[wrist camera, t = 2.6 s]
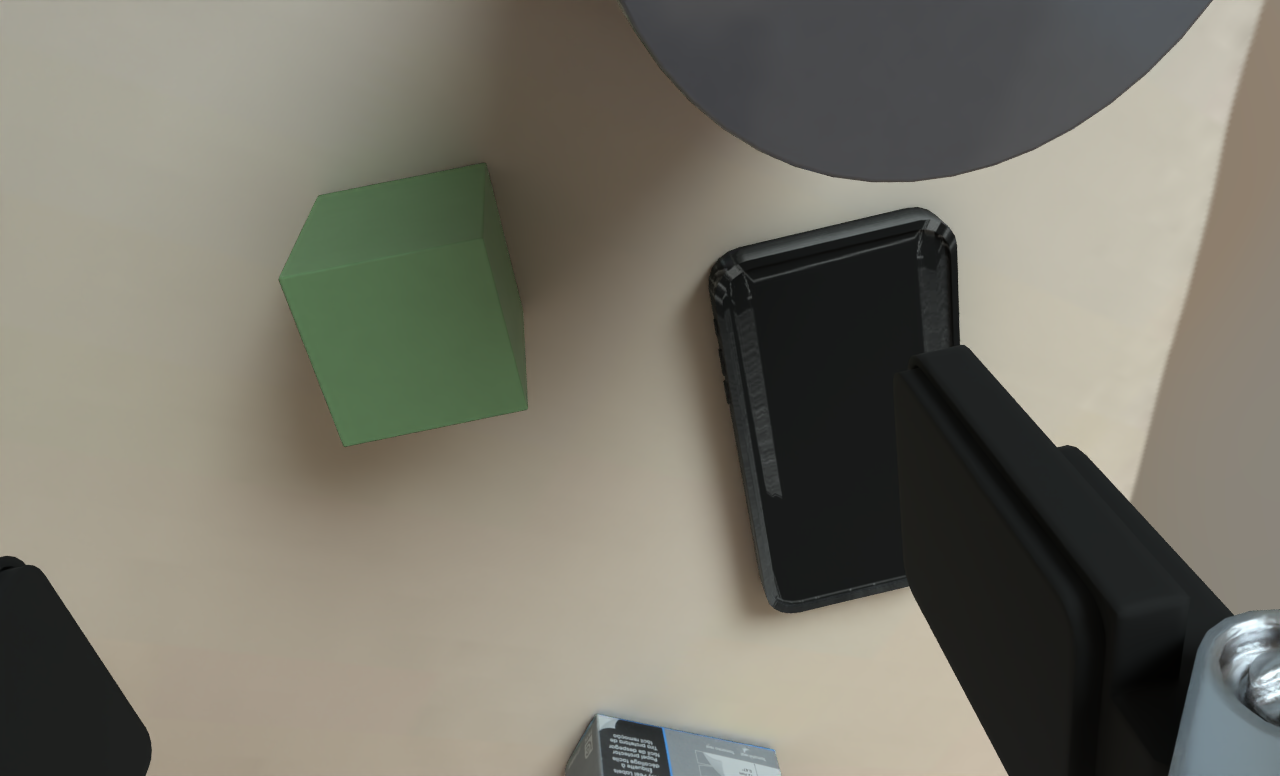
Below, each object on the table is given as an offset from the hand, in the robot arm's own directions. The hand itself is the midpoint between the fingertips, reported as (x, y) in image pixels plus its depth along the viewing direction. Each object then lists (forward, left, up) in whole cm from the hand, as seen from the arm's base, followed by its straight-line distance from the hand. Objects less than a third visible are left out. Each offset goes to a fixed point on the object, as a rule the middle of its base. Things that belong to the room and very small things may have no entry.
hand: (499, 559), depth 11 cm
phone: (+9, -13, -20) cm, 26 cm away
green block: (-3, -4, -20) cm, 21 cm away
